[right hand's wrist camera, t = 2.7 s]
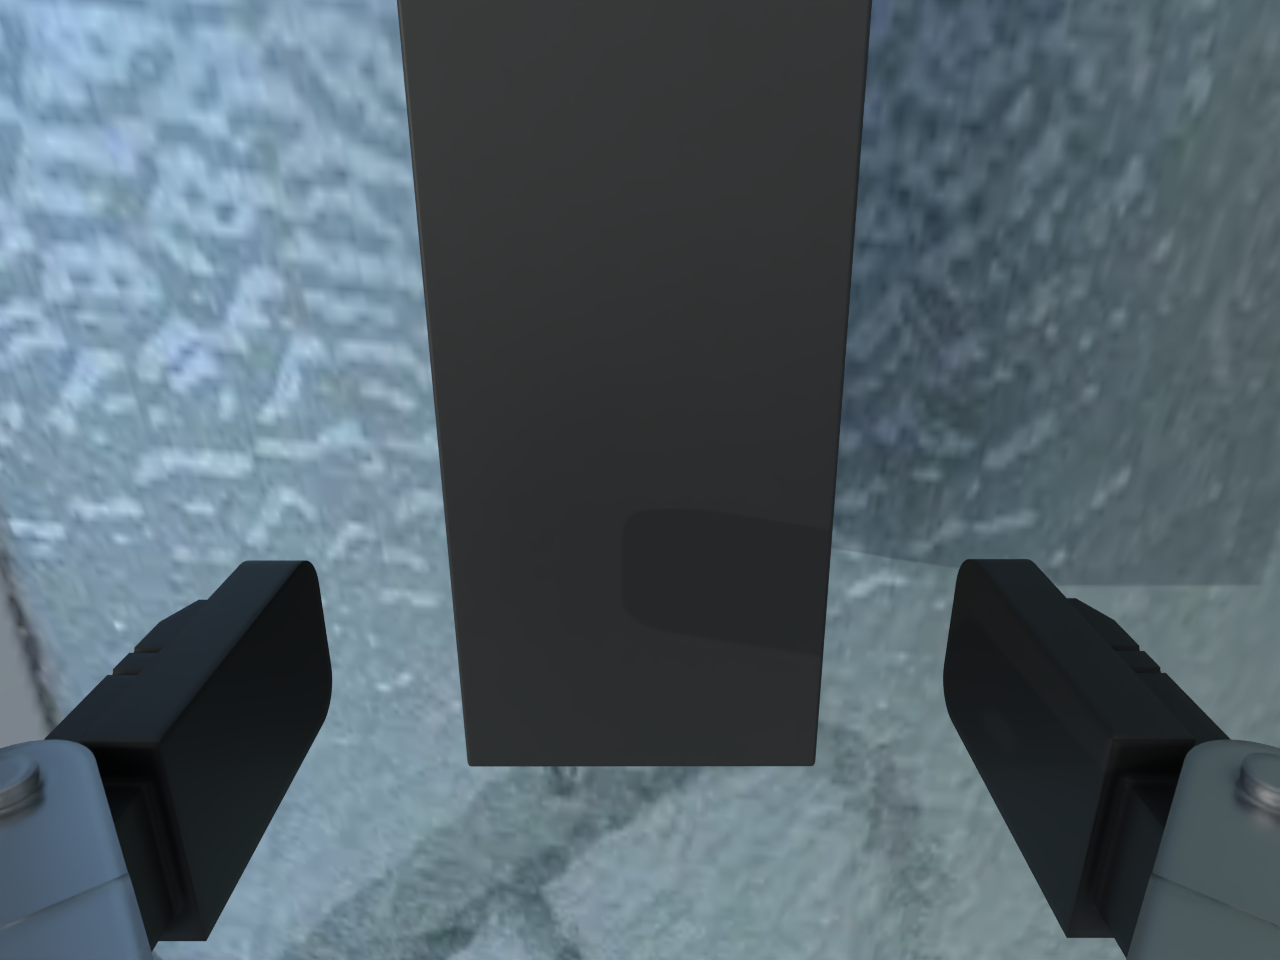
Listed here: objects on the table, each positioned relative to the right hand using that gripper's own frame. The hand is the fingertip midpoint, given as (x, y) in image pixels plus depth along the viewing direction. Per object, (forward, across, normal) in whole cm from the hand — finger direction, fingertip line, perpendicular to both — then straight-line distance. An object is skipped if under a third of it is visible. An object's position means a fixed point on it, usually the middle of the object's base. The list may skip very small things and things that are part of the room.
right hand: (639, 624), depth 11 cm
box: (+16, 0, +8) cm, 18 cm away
